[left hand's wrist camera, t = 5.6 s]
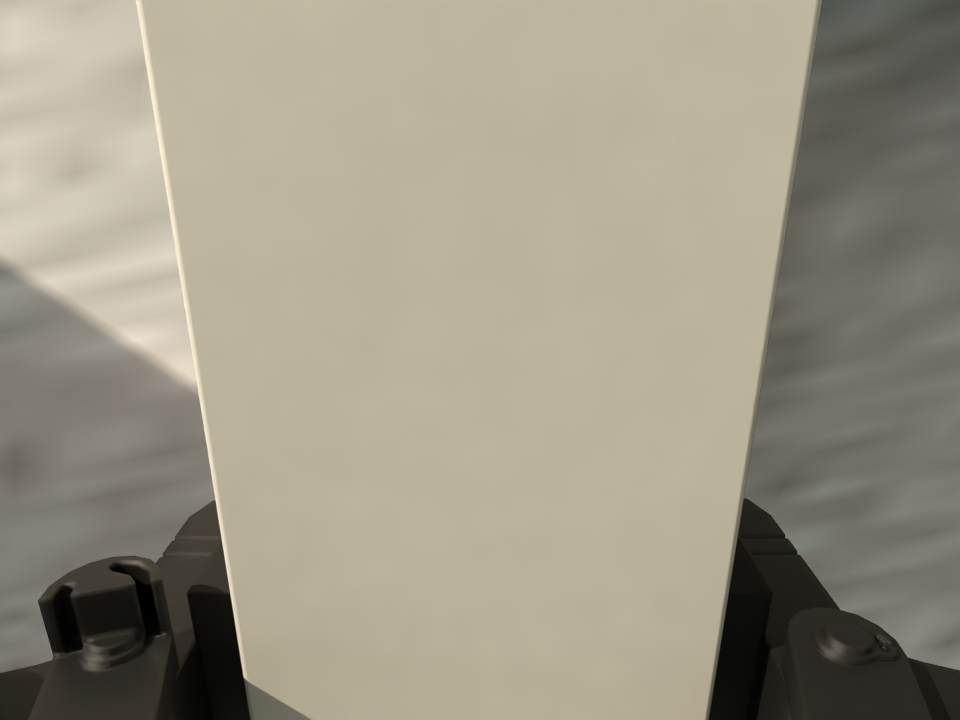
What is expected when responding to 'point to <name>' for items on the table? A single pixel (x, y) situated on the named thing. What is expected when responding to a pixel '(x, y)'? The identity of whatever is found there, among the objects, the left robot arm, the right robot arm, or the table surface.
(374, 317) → the bar
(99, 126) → the table surface
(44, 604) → the left robot arm
